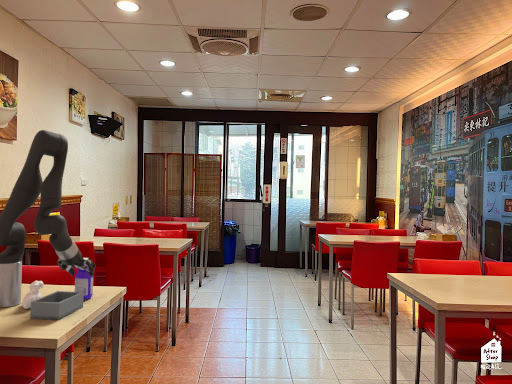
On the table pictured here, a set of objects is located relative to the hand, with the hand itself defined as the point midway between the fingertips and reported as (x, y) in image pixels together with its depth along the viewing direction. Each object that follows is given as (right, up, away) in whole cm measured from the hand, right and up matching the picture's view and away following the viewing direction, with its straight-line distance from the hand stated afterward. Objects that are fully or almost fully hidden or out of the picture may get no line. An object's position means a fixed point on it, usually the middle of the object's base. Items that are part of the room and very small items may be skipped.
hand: (82, 274), depth 163 cm
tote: (-1, -11, -19) cm, 22 cm away
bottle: (0, -11, +1) cm, 11 cm away
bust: (-15, -11, -12) cm, 22 cm away
